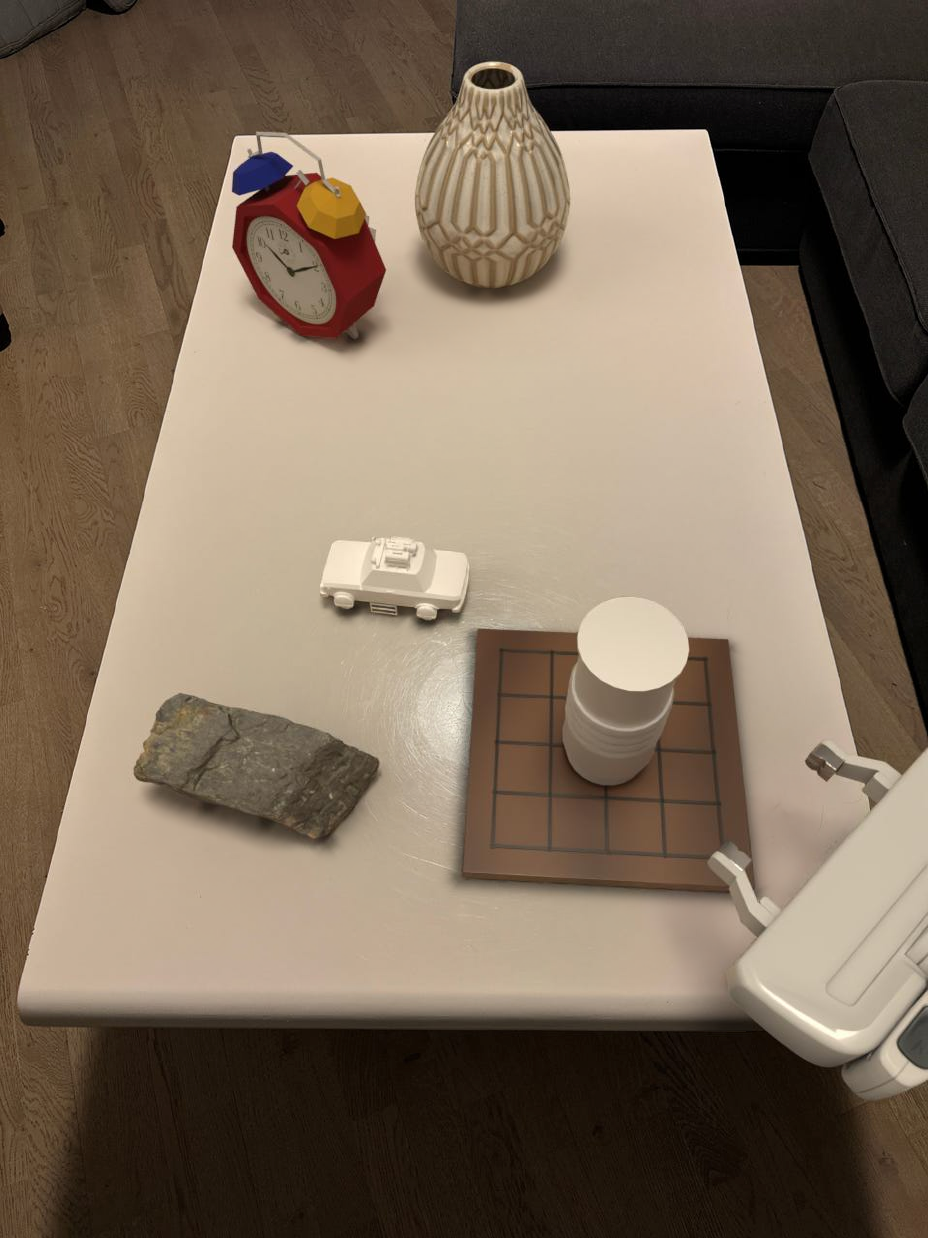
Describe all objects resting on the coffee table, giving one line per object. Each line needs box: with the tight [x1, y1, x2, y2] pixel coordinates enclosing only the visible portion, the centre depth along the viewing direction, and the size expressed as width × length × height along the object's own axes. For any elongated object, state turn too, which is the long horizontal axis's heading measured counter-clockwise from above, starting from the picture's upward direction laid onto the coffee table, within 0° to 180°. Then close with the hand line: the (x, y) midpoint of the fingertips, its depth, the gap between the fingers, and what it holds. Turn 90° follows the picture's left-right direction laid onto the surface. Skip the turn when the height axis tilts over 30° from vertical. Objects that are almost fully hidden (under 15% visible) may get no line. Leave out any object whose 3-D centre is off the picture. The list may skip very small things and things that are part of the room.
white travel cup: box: [562, 596, 689, 785], centre depth 63 cm, size 7×7×15 cm
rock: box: [133, 692, 380, 839], centre depth 68 cm, size 17×7×10 cm
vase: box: [414, 61, 571, 289], centre depth 94 cm, size 16×16×20 cm
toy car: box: [319, 535, 470, 621], centre depth 76 cm, size 6×12×7 cm, turn 81°
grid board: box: [461, 628, 756, 893], centre depth 70 cm, size 20×20×1 cm
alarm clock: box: [231, 131, 387, 340], centre depth 90 cm, size 15×9×20 cm, turn 54°
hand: (766, 798), depth 56 cm, fingers open, 8 cm apart
